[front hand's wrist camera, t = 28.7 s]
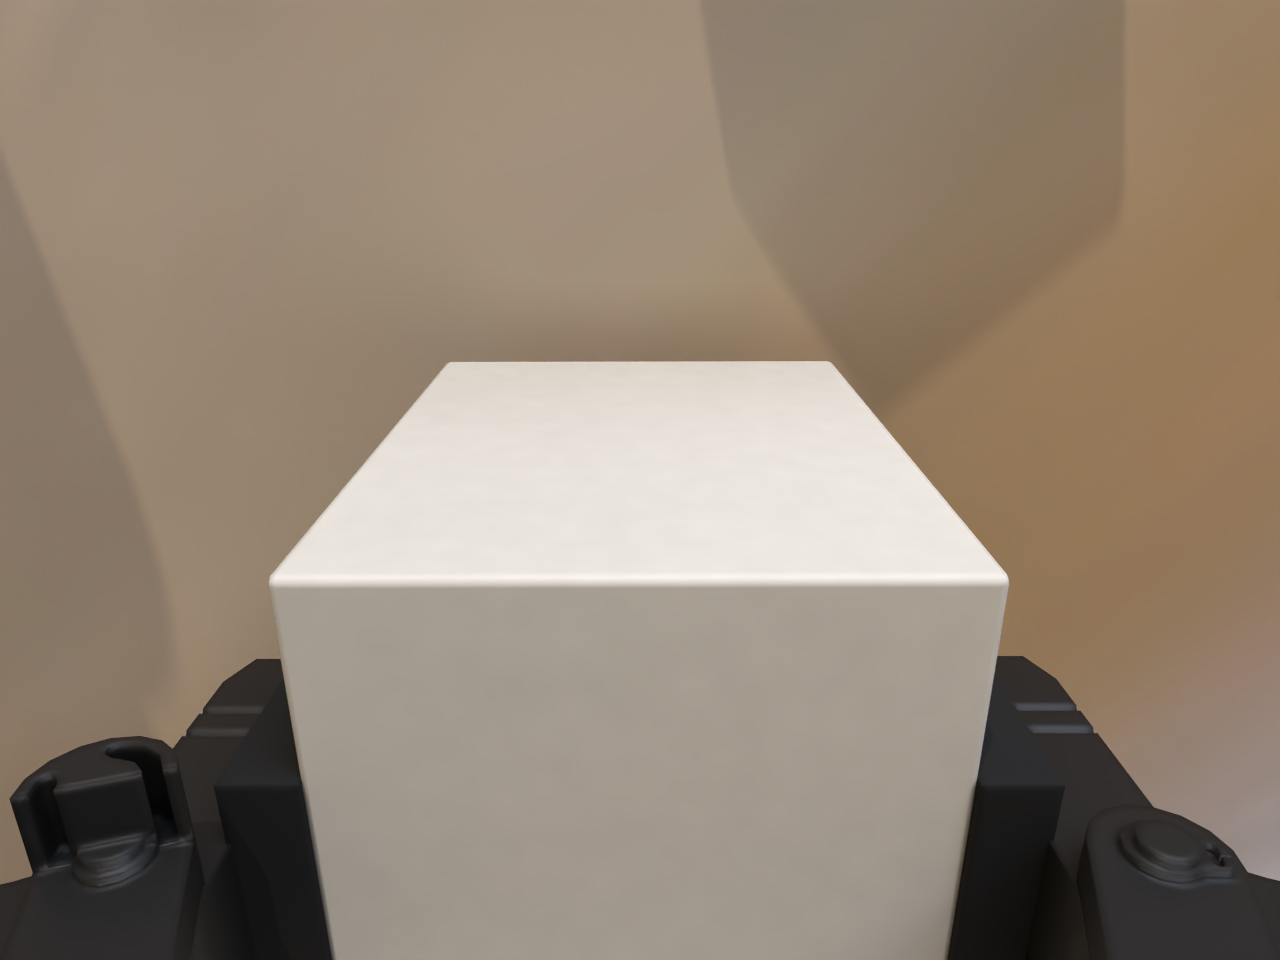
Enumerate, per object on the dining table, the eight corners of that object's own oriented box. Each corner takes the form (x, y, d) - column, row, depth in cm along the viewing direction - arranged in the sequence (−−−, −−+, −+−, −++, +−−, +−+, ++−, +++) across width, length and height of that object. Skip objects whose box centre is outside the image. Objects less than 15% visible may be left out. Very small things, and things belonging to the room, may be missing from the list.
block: (805, 702, 17) (925, 1114, 10) (474, 702, 17) (354, 1113, 10) (832, 359, 14) (1015, 577, 7) (446, 360, 14) (260, 578, 7)
